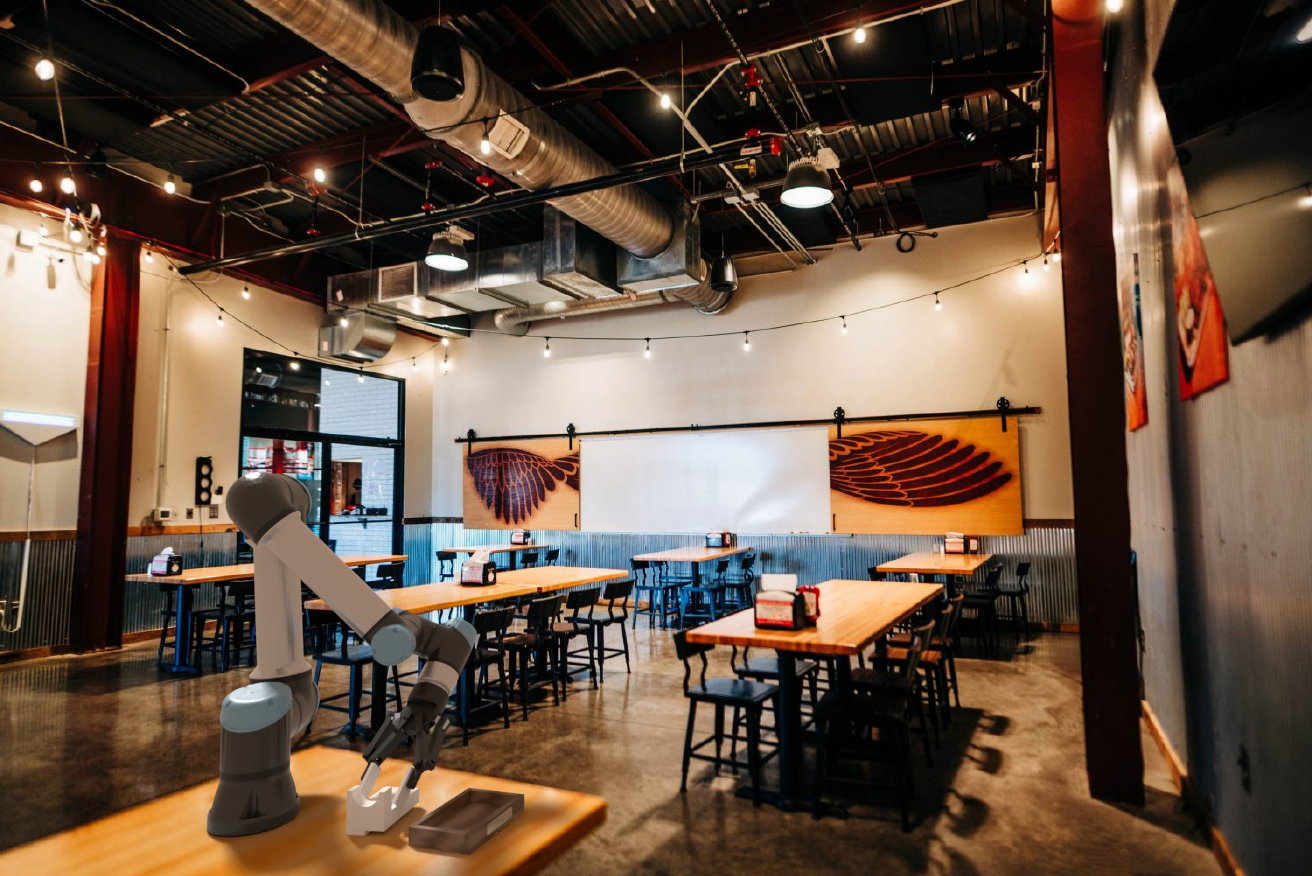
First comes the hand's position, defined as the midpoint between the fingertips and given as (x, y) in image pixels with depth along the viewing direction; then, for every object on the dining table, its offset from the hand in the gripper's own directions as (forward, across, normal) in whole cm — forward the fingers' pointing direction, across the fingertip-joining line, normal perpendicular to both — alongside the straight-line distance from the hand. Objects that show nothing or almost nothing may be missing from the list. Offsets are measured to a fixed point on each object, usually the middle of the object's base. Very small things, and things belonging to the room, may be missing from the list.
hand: (377, 803), depth 134 cm
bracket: (+1, 0, -4) cm, 5 cm away
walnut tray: (0, -17, -5) cm, 18 cm away
